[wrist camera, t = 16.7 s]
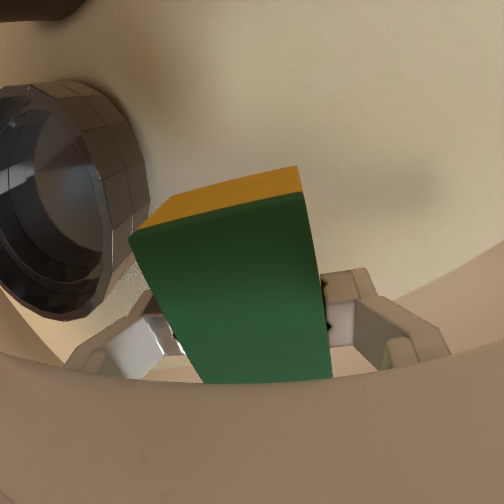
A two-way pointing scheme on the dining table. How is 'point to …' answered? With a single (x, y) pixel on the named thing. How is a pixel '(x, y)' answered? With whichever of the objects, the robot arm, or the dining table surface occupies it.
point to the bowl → (66, 197)
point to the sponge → (239, 279)
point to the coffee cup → (37, 10)
